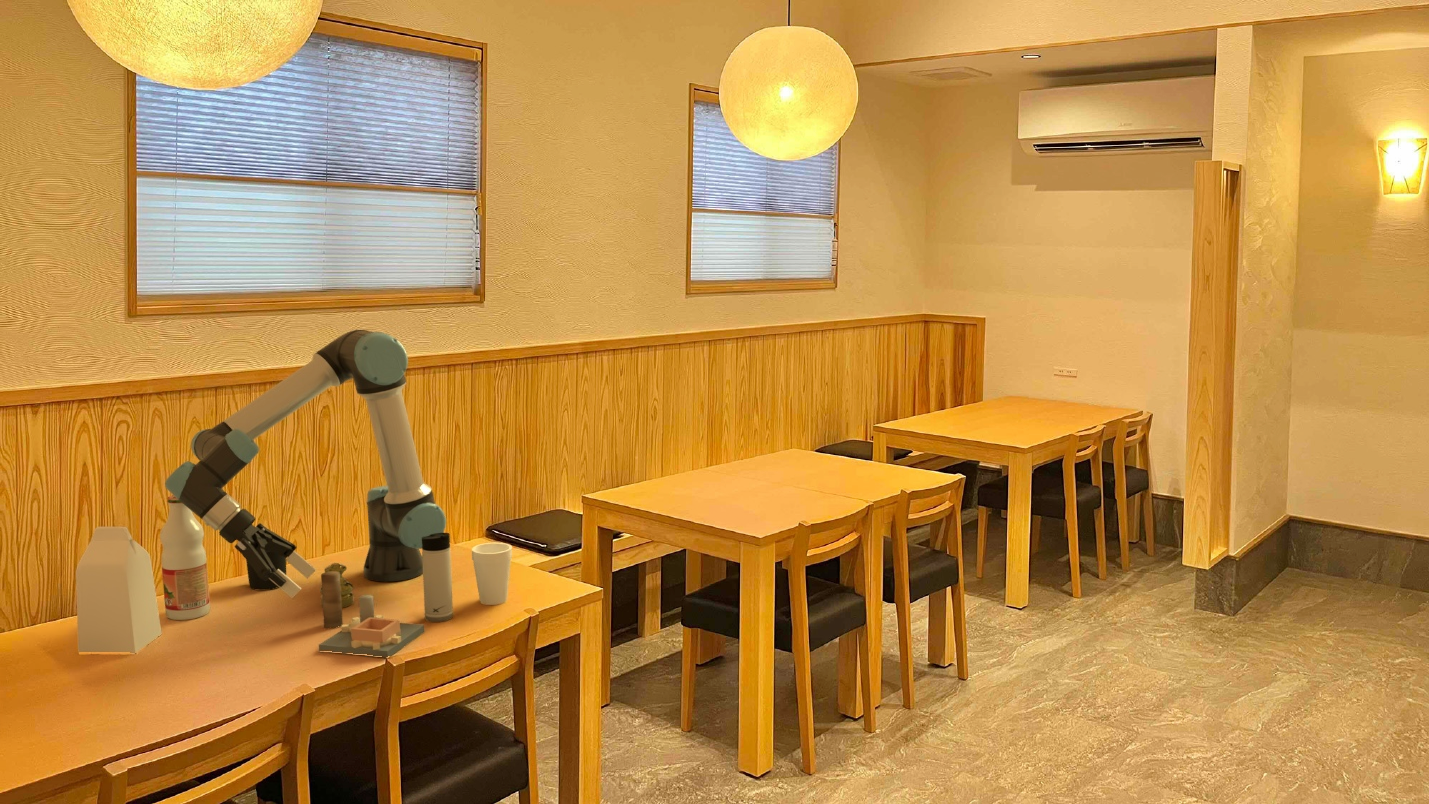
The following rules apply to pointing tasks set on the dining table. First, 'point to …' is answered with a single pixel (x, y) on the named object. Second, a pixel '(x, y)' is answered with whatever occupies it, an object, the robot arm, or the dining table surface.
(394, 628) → the gear board
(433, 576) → the travel mug
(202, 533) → the fruit juice
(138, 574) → the milk
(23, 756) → the dining table surface
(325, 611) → the wooden dowel peg
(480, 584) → the foam cup
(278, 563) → the pen holder
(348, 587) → the salt shaker
